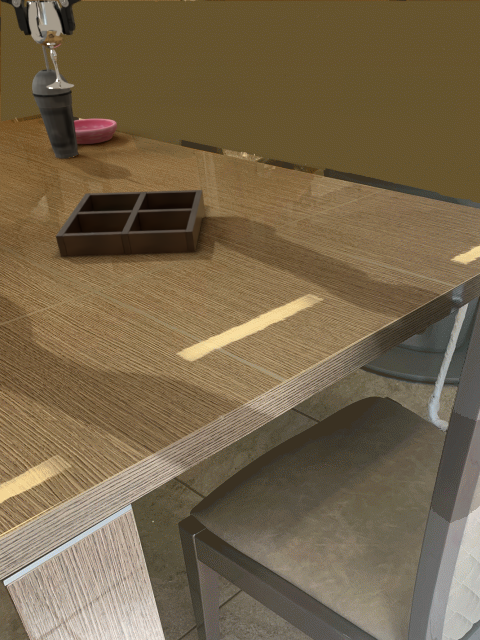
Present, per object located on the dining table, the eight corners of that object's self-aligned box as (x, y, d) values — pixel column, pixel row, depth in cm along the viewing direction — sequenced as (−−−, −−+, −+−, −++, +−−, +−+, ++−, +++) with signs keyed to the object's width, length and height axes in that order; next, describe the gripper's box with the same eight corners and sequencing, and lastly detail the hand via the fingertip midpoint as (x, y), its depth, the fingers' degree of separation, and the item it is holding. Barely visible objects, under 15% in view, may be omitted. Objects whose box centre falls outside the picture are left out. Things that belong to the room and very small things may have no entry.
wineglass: (53, 83, 111) (35, -1, 103) (84, 84, 110) (68, 0, 103) (35, 89, 106) (15, 2, 99) (67, 90, 105) (49, 3, 98)
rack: (63, 265, 87) (55, 236, 84) (91, 219, 101) (85, 193, 98) (196, 260, 88) (192, 231, 85) (205, 216, 102) (202, 189, 99)
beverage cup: (75, 148, 135) (50, 38, 123) (91, 155, 131) (67, 42, 119) (42, 155, 131) (13, 42, 119) (57, 162, 127) (29, 46, 115)
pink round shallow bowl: (54, 137, 143) (50, 122, 141) (108, 130, 148) (106, 115, 147) (70, 149, 135) (66, 133, 133) (127, 141, 140) (124, 125, 138)
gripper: (-40, -102, 90) (-4, 37, 100) (65, -101, 91) (90, 37, 101) (-23, -99, 96) (10, 32, 106) (76, -99, 97) (99, 32, 107)
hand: (49, 34), depth 103 cm, fingers closed on wineglass, 6 cm apart
